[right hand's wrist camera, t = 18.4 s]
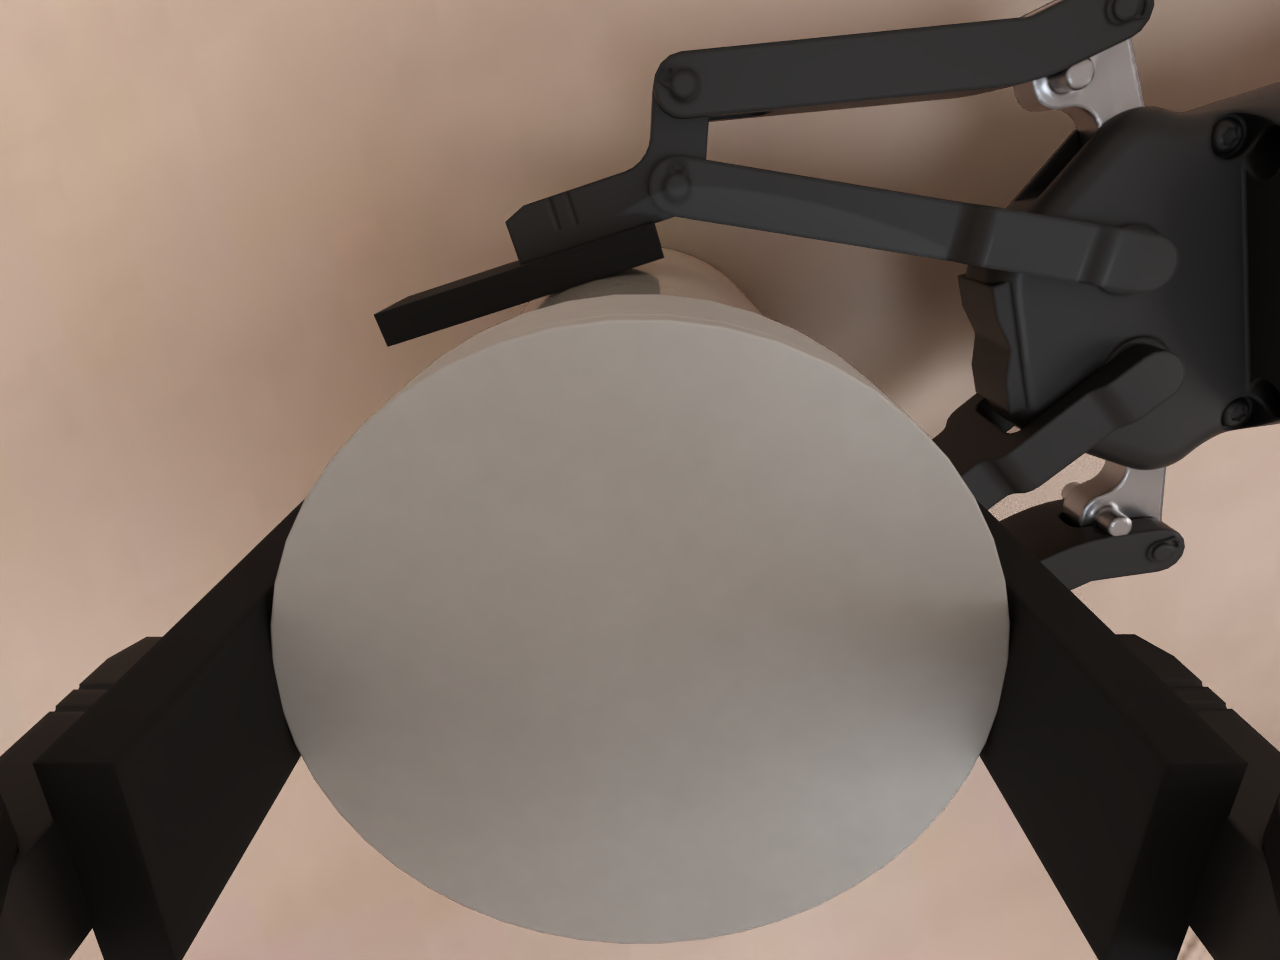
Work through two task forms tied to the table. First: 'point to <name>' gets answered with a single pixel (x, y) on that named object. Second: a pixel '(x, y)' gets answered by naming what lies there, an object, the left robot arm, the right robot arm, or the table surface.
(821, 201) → the left robot arm
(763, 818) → the lid
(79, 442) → the table surface
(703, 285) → the jar
